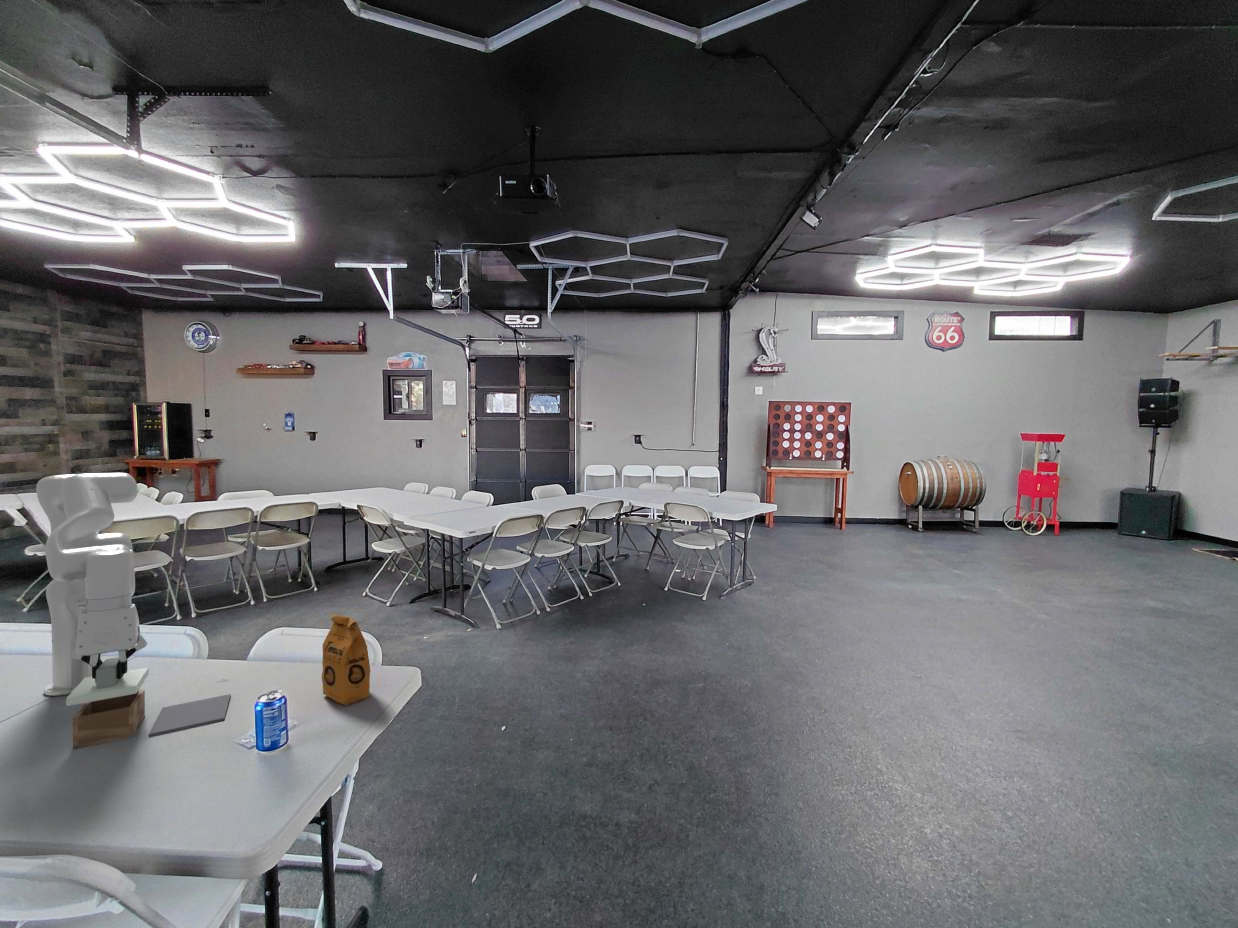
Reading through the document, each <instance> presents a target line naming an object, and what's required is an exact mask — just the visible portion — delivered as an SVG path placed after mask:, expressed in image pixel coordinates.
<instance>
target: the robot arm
mask: <svg viewBox="0 0 1238 928" xmlns="http://www.w3.org/2000/svg"><path fill="white" fill-rule="evenodd" d="M35 491H36V497H37V501H38V503H39V505H40V508H41V509H42V510H43V512H44V513H45V515H46V517H47V518H48V521H49V524H50V534H49V536H48V537H47V539H46V543H45V548H44V550H45V551H44V552H45V553H44V554H45V559H46V564H47V565H46V566H47V570H48V573H49V576H50V577H51V578H52V579H53V580H52V581H51V582H50V583H49V584H48V585H47V587H46V590H45V597H46V598H45V599H46V601H47V605H48V610H49V615H50V624H51V666H52V667H51V668H52V669H51V673H52V674H51V675H52V676H51V677H52V679H51V680H52V682H51V683H49V684H48V685H46V686H45V687H44V688H43V694H45V695H46V696H53V697H55V696H56V697H57V696H58V697H59V696H66V695H70V694H71V692H72V691H73V690H74V689H75V688H76V687H77V686H78V685H79V684H80V683H81V681H82V680H83V679H84V678H86V677H92V679H94V678H95V683H96V670H97V669H98V668H99V667H100V666H101V665H102V663H103V662H104V661H103V654H107V653H115V652H118V653H117V654H118V657H119V660H118V663H117V679H121V678H122V677H123V675H124V674H125V673H127V671H128V659H130V657H132V656H133V655H134V654H135V653H137V652H139V651H140V650H142V649H144V648H146V647H147V646H148V641H146V639H145V638H144V637H143V635H142V634H141V628H140V627H141V626H140V621H139V620H140V619H139V614H138V610H137V607H136V604H135V603H132V597H133V596H134V594H135V591H136V576H135V562H134V561H135V560H134V559H135V556H134V549H133V547H134V546H133V544H132V543H133V542H132V540H131V538H130V537H129V535H127V534H126V533H123V532H109V533H107V532H106V533H97V532H100V531H103V530H105V529H106V528H107V527H109V526H111V524H113V522H114V521H115V513H114V508H113V507H112V504H120V503H121V504H125V503H131V502H133V501H135V500H136V498H137V496H138V491H139V489H138V484H137V481H136V479H135V478H134V477H133V476H132V475H131V474H129V473H127V472H93V473H91V472H89V473H87V472H86V473H73V474H72V473H71V474H70V473H68V474H58V475H50V476H49V475H48V476H46V477H42V478H41V479H39V480H38V482H37V483H36V489H35Z"/></svg>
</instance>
